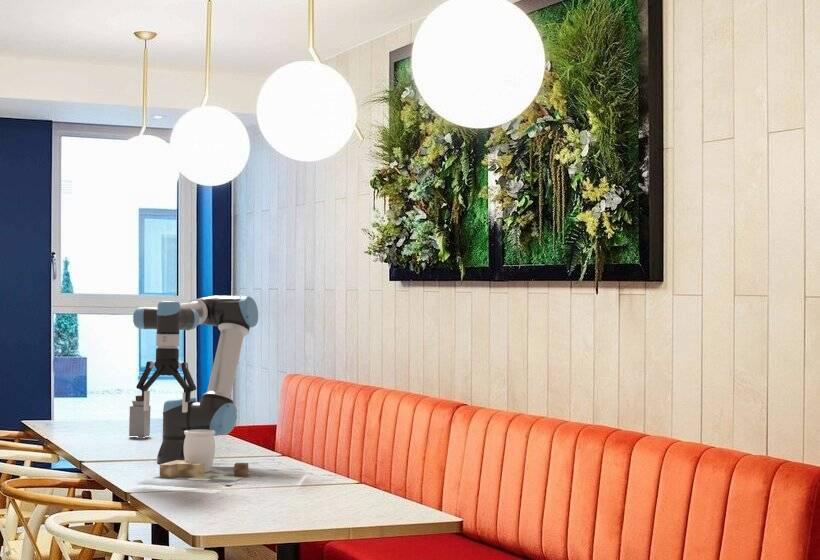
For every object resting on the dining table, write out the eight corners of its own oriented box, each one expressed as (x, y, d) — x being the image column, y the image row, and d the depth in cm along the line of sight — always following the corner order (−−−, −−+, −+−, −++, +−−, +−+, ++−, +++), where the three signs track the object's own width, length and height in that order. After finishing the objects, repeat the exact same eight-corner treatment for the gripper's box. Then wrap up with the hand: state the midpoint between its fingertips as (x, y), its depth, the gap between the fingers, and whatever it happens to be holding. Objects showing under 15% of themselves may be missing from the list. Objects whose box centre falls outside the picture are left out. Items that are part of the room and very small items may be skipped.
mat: (152, 481, 358) (152, 477, 358) (178, 474, 375) (178, 470, 375) (229, 486, 351) (229, 482, 351) (252, 478, 368) (252, 475, 368)
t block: (159, 476, 361) (159, 464, 361) (176, 472, 372) (177, 460, 372) (193, 478, 357) (193, 466, 358) (209, 474, 369) (210, 461, 369)
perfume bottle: (134, 436, 488) (136, 394, 488) (149, 436, 487) (150, 395, 487) (128, 437, 481) (130, 396, 482) (143, 438, 480) (145, 396, 481)
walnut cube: (234, 476, 365) (234, 464, 365) (236, 474, 369) (236, 462, 369) (246, 476, 365) (246, 464, 365) (248, 475, 369) (248, 462, 369)
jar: (176, 476, 375) (177, 431, 375) (193, 472, 384) (194, 428, 385) (204, 478, 371) (205, 432, 371) (220, 474, 380) (221, 430, 381)
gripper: (127, 346, 371) (125, 410, 370) (198, 348, 366) (196, 413, 365) (137, 346, 378) (135, 409, 377) (207, 348, 373) (205, 411, 372)
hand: (165, 411), depth 371 cm, fingers open, 13 cm apart
